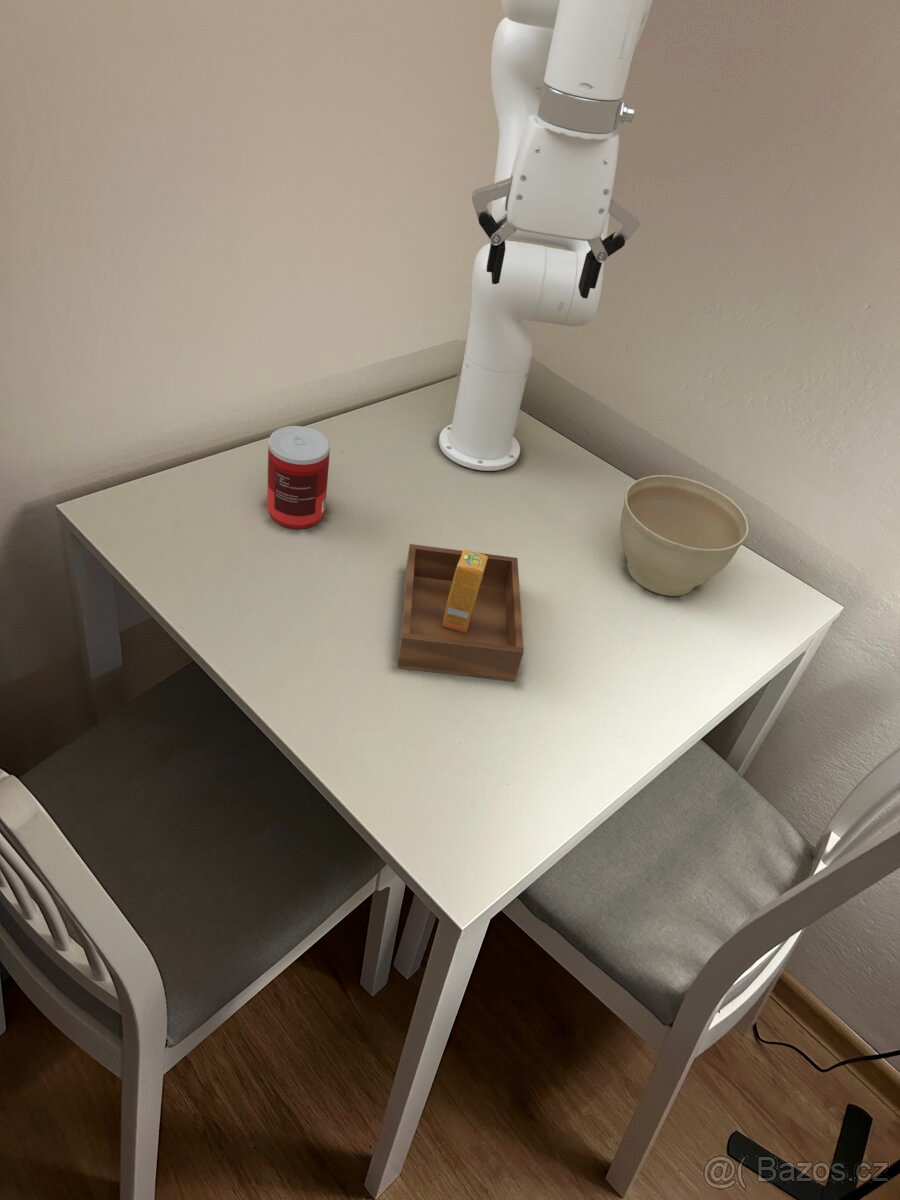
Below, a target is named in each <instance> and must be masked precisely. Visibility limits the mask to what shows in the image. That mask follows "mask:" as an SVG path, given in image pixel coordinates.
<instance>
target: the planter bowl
mask: <svg viewBox="0 0 900 1200" xmlns="http://www.w3.org/2000/svg"><path fill="white" fill-rule="evenodd" d="M619 528H620V529H619V530H620V532H619V534H620V542H621V545H622V550H623V553H624V556H625V558H626V560H627V561H626V567H627V570H628V573H629V575H630V576H631V578H632V579H633V580H634V581H635V582H636V583H637V584H638V585H640V586H641V587H643V588H645V589H646V590H648V591H650V592H653V593H655V594H658V595H663V596H669V597H678V596H684V595H686V594H689V593H691V592H692V591H693V590H694V589H695V587H697V586H700V585H702V584H704V583H706V582H708V581H709V580H711V579H713V577H716V576H717V575H718V574H719V573H720V572H721V571H723V570H724V569H725V567H726V566H727V565H728V564H729V563H730V562H731V561H732V559H733V558H734V557H735V556H736V553H737V551H738V550H739V548H740V547H741V546H742V544H744V542H745V541H746V538H747V537H748V535H749V530H750V529H749V521H748V518H747V516H746V515H745V513H744V512H743V510H742V509H741V508H740V506H738V504H737V503H736V502H734V501H733V499H731V498H730V497H729V496H728V495H725V494H724V493H723V492H721V491H719V490H717V489H716V488H714V487H711V486H709V485H707V484H705V483H702V482H700V481H697V480H694V479H690V478H687V477H683V476H677V475H669V474H667V475H666V474H665V475H664V474H655V475H650V476H645V477H642V478H639V479H636V480H635V481H633V482H632V484H630V485H629V486H628V487H627V489H626V492H625V494H624V499H623V507H622V511H621V516H620V527H619Z"/></svg>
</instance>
